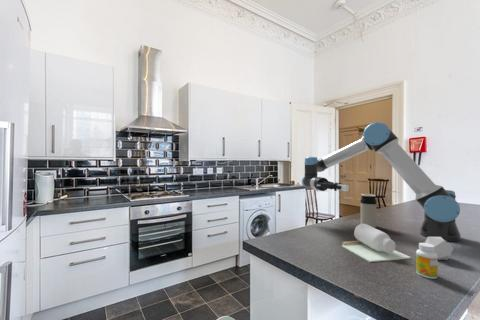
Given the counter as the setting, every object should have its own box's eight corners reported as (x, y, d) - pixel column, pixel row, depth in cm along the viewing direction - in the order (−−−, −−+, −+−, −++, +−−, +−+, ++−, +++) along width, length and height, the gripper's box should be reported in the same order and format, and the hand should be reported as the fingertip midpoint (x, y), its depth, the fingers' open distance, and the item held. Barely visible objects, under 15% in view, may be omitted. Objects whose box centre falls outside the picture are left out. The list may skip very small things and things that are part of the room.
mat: (341, 246, 98) (341, 245, 98) (377, 243, 102) (377, 242, 102) (369, 262, 83) (369, 260, 83) (411, 258, 86) (411, 257, 86)
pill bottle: (371, 231, 103) (402, 246, 88) (359, 243, 102) (388, 261, 87) (362, 219, 101) (392, 232, 87) (350, 231, 100) (377, 247, 86)
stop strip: (342, 245, 100) (342, 241, 100) (373, 243, 103) (373, 239, 103) (343, 246, 99) (343, 242, 99) (375, 243, 102) (375, 240, 102)
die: (456, 267, 81) (461, 242, 84) (431, 253, 82) (438, 229, 85) (437, 265, 88) (443, 243, 91) (415, 253, 90) (421, 231, 93)
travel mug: (363, 227, 127) (363, 195, 128) (358, 224, 135) (358, 193, 136) (379, 228, 126) (378, 195, 126) (373, 224, 134) (373, 194, 134)
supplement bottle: (411, 271, 76) (411, 241, 76) (426, 270, 76) (426, 241, 77) (426, 279, 71) (426, 247, 71) (442, 278, 71) (442, 247, 71)
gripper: (329, 190, 132) (359, 196, 109) (309, 190, 130) (335, 196, 107) (329, 177, 133) (359, 180, 109) (309, 177, 130) (335, 180, 107)
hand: (347, 188), depth 108 cm, fingers closed
